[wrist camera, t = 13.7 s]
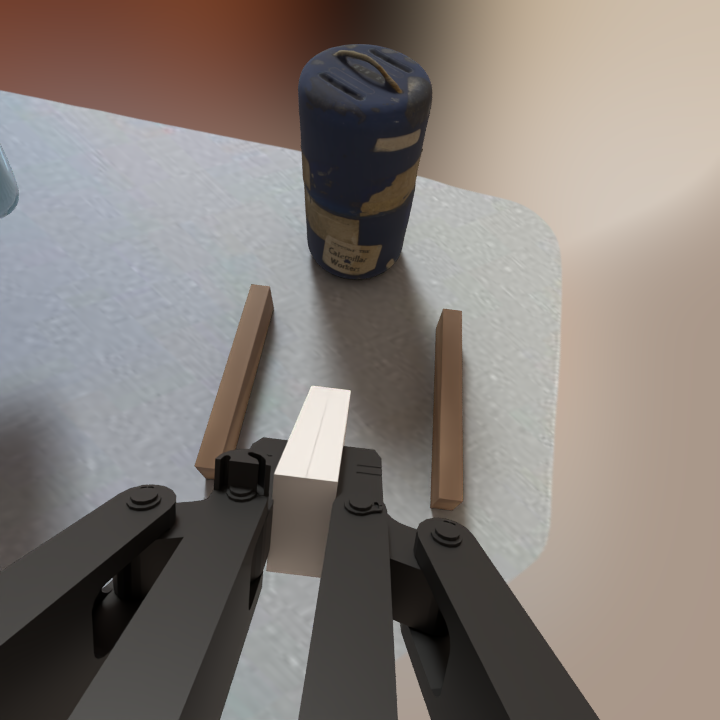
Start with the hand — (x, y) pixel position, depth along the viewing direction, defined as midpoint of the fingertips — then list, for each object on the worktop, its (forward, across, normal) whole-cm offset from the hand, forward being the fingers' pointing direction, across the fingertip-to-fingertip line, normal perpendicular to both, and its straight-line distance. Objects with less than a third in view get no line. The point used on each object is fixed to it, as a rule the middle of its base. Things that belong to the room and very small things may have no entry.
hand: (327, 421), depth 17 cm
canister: (+30, -1, +6) cm, 31 cm away
